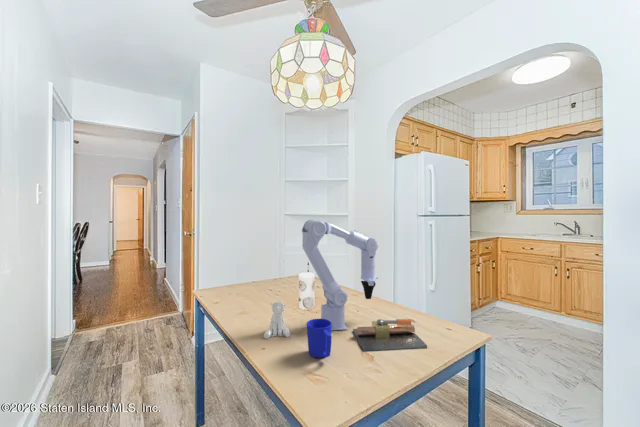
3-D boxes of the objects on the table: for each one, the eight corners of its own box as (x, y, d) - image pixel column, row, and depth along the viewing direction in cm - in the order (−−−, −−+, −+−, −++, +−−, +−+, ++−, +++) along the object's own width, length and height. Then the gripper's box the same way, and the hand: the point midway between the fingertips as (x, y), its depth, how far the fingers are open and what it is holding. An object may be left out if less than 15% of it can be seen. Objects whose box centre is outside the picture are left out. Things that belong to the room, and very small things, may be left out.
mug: (317, 369, 85) (316, 335, 84) (302, 350, 96) (302, 320, 96) (341, 362, 88) (341, 330, 88) (325, 345, 99) (325, 316, 99)
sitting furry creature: (263, 339, 104) (263, 306, 104) (264, 329, 113) (264, 299, 113) (290, 337, 106) (290, 304, 105) (288, 328, 114) (288, 297, 114)
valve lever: (377, 325, 105) (377, 321, 105) (376, 322, 107) (376, 318, 107) (411, 325, 104) (411, 321, 104) (409, 322, 107) (409, 319, 107)
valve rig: (363, 351, 95) (363, 336, 95) (352, 331, 111) (352, 318, 111) (427, 347, 97) (427, 333, 97) (407, 328, 113) (407, 316, 113)
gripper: (381, 269, 114) (381, 304, 114) (374, 263, 128) (374, 293, 128) (363, 269, 114) (363, 304, 114) (358, 263, 128) (358, 293, 128)
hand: (368, 298), depth 121 cm, fingers closed
